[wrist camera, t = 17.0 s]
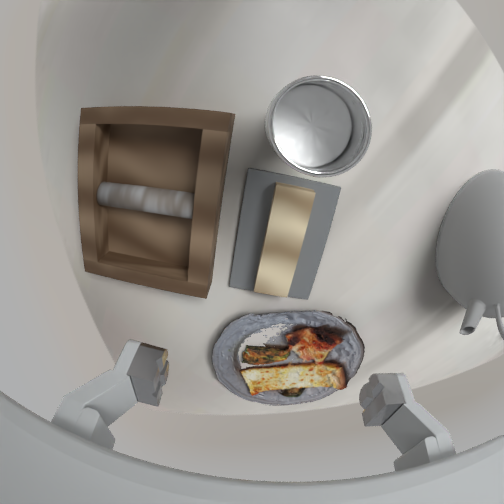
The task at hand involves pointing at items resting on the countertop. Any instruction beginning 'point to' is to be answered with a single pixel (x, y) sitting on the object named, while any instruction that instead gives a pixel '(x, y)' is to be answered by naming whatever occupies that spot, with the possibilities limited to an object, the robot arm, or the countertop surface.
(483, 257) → the kettle
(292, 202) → the maple bar
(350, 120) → the drinking glass
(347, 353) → the food plate
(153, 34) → the countertop surface
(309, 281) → the rubber mat
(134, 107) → the pocket board
